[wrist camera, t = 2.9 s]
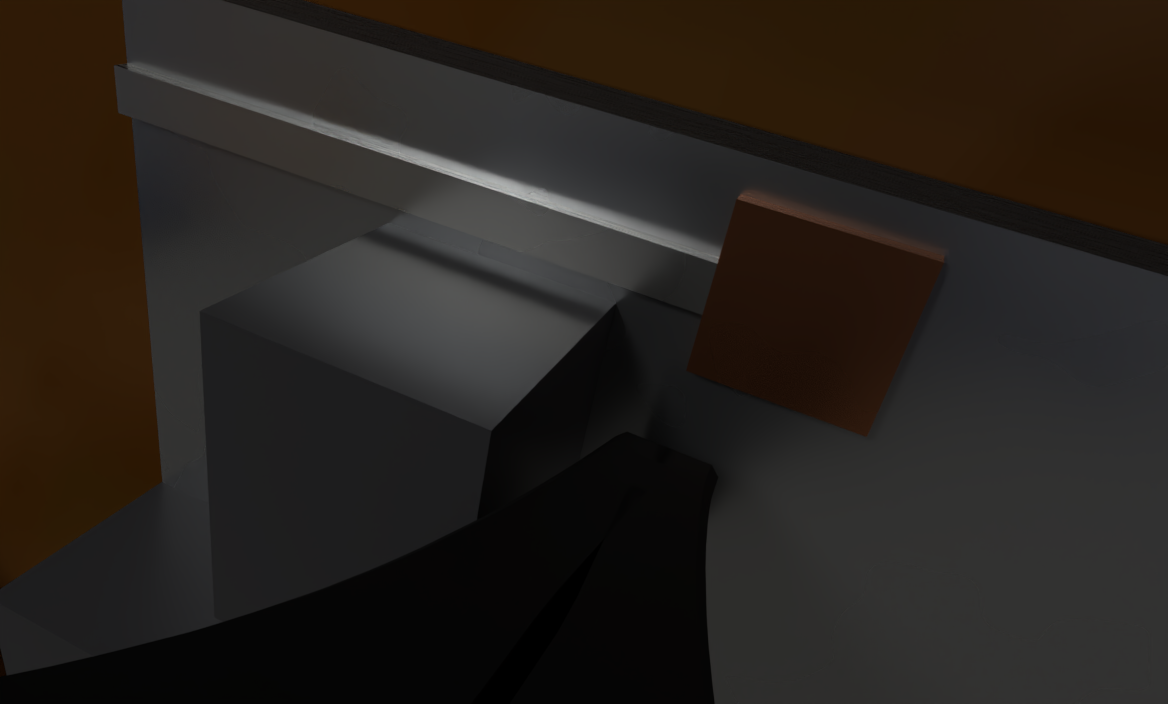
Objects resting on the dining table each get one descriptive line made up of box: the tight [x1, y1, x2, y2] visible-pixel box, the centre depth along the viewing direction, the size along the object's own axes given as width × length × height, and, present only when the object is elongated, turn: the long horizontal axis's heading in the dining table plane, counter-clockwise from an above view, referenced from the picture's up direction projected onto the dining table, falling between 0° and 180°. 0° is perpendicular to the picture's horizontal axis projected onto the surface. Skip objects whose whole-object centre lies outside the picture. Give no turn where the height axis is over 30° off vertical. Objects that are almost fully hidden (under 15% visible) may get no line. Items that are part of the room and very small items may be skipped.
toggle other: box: [0, 482, 222, 675], centre depth 13 cm, size 3×4×3 cm
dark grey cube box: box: [199, 223, 616, 622], centre depth 9 cm, size 3×4×3 cm
